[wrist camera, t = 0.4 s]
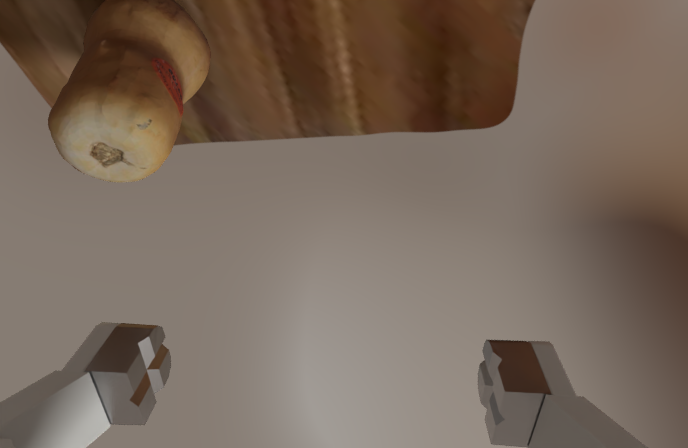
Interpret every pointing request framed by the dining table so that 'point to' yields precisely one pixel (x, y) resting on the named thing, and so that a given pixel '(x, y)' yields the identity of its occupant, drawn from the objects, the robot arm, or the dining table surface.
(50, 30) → the dining table surface
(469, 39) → the dining table surface
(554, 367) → the robot arm
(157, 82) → the butternut squash
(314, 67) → the dining table surface
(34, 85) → the dining table surface
